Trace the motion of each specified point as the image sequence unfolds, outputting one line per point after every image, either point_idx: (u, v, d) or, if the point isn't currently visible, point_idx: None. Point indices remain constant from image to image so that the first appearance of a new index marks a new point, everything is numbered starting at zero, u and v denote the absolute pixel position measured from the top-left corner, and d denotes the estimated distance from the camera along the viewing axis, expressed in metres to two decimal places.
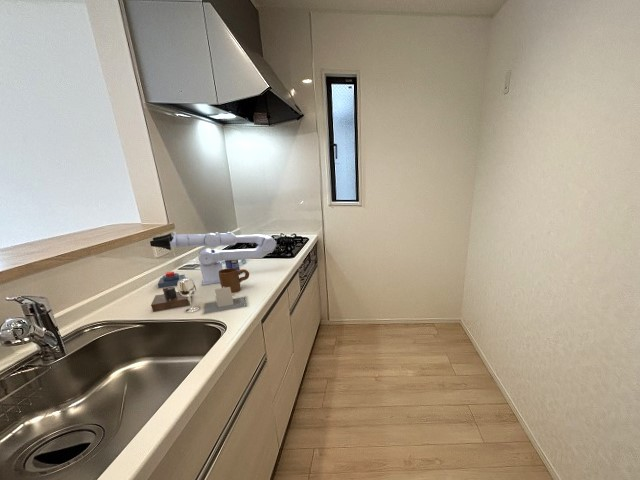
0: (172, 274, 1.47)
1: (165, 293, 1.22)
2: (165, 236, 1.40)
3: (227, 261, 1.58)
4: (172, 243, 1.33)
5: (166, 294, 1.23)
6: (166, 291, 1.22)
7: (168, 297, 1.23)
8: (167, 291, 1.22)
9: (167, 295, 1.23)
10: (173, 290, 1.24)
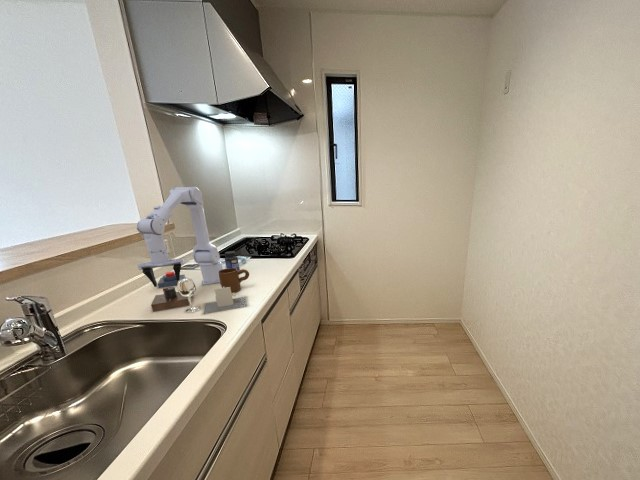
0: (172, 274, 1.47)
1: (165, 293, 1.22)
2: (152, 275, 1.18)
3: (227, 261, 1.58)
4: (183, 262, 1.23)
5: (166, 294, 1.23)
6: (166, 291, 1.22)
7: (168, 297, 1.23)
8: (167, 291, 1.22)
9: (167, 295, 1.23)
10: (173, 290, 1.24)
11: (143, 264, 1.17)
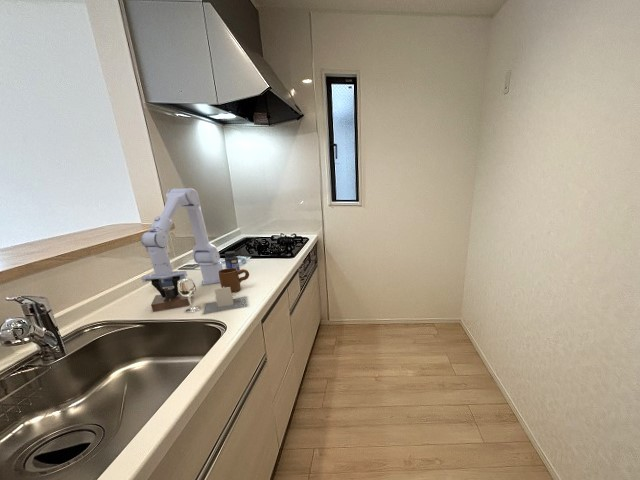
0: None
1: (165, 293, 1.22)
2: (160, 286, 1.21)
3: (227, 261, 1.58)
4: (186, 273, 1.25)
5: (166, 294, 1.23)
6: (166, 291, 1.22)
7: (168, 297, 1.23)
8: (167, 291, 1.22)
9: (167, 295, 1.23)
10: (173, 290, 1.24)
11: (147, 276, 1.19)
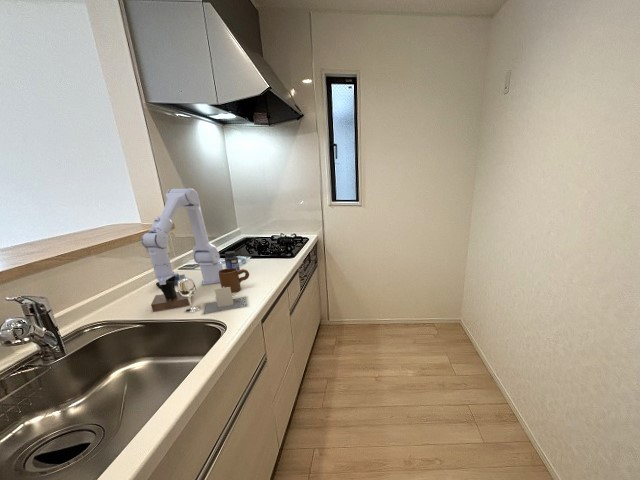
0: None
1: (173, 292, 1.24)
2: None
3: (227, 261, 1.58)
4: None
5: (174, 292, 1.24)
6: (174, 289, 1.24)
7: (176, 295, 1.25)
8: (174, 289, 1.24)
9: (175, 293, 1.25)
10: None
11: (162, 279, 1.17)
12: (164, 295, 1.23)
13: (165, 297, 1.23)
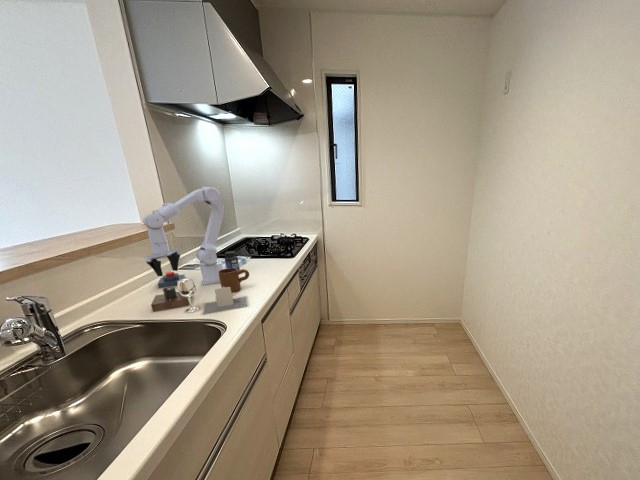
0: (172, 274, 1.47)
1: (173, 292, 1.24)
2: None
3: (227, 261, 1.58)
4: None
5: (174, 292, 1.24)
6: (174, 289, 1.24)
7: (176, 295, 1.25)
8: (174, 289, 1.24)
9: (175, 293, 1.25)
10: None
11: (150, 256, 1.29)
12: (164, 295, 1.23)
13: (165, 297, 1.23)
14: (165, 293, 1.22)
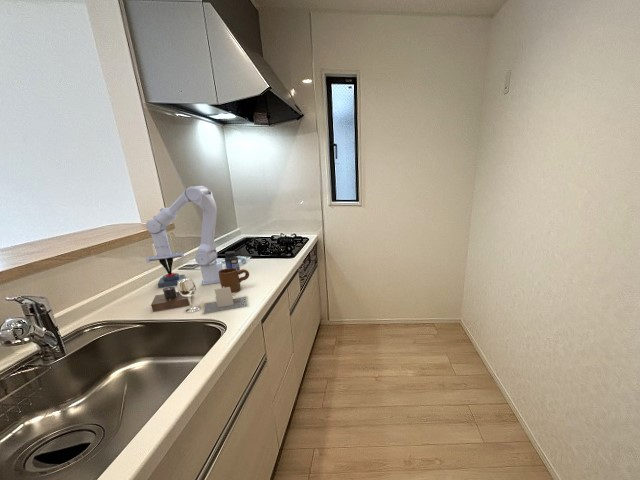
0: (172, 275, 1.48)
1: (173, 292, 1.24)
2: None
3: (227, 261, 1.58)
4: (183, 255, 1.49)
5: (174, 292, 1.24)
6: (174, 289, 1.24)
7: (176, 295, 1.25)
8: (174, 289, 1.24)
9: (175, 293, 1.25)
10: None
11: (150, 257, 1.42)
12: (164, 295, 1.23)
13: (165, 297, 1.23)
14: (165, 293, 1.22)
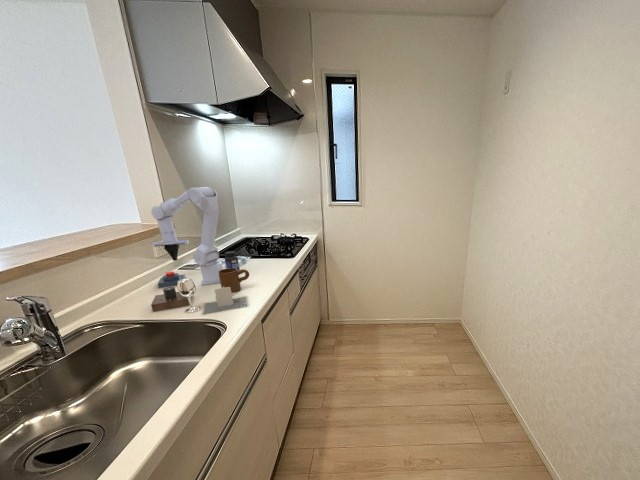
0: (172, 274, 1.47)
1: (173, 292, 1.24)
2: (171, 251, 1.48)
3: (227, 261, 1.58)
4: (187, 242, 1.50)
5: (174, 292, 1.24)
6: (174, 289, 1.24)
7: (176, 295, 1.25)
8: (174, 289, 1.24)
9: (175, 293, 1.25)
10: None
11: (156, 242, 1.46)
12: (164, 295, 1.23)
13: (165, 297, 1.23)
14: (165, 293, 1.22)
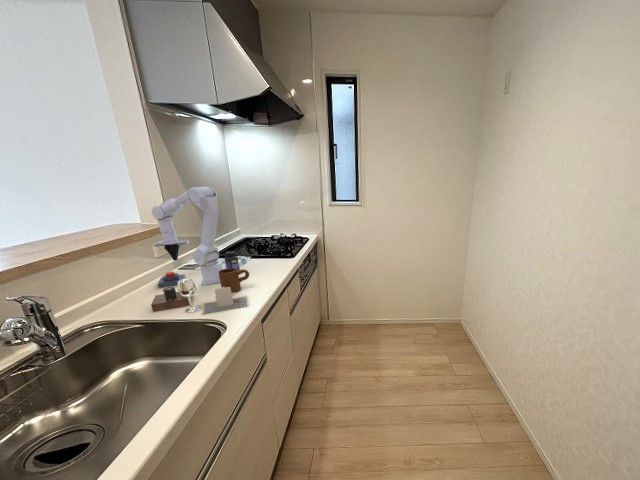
0: (172, 274, 1.47)
1: (173, 292, 1.24)
2: (171, 251, 1.48)
3: (227, 261, 1.58)
4: (188, 242, 1.50)
5: (174, 292, 1.24)
6: (174, 289, 1.24)
7: (176, 295, 1.25)
8: (174, 289, 1.24)
9: (175, 293, 1.25)
10: None
11: (157, 242, 1.47)
12: (164, 295, 1.23)
13: (165, 297, 1.23)
14: (165, 293, 1.22)
